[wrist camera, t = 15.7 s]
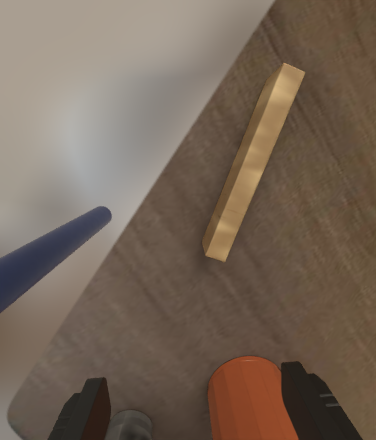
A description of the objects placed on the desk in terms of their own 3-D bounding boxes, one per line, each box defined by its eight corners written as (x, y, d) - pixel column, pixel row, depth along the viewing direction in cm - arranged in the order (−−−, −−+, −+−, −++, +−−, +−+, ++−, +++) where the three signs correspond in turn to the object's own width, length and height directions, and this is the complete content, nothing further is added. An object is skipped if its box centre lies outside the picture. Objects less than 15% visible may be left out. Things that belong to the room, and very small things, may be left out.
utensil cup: (209, 424, 27) (221, 531, 19) (204, 359, 25) (215, 446, 18) (285, 418, 27) (328, 521, 19) (286, 352, 25) (332, 436, 18)
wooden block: (205, 255, 19) (284, 62, 17) (201, 241, 23) (266, 79, 20) (224, 262, 20) (306, 71, 17) (218, 247, 23) (284, 87, 20)
